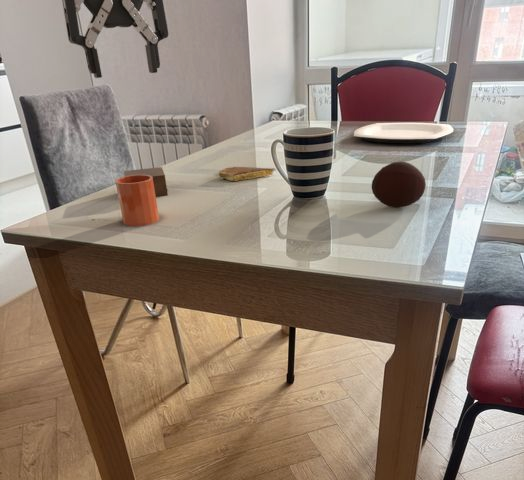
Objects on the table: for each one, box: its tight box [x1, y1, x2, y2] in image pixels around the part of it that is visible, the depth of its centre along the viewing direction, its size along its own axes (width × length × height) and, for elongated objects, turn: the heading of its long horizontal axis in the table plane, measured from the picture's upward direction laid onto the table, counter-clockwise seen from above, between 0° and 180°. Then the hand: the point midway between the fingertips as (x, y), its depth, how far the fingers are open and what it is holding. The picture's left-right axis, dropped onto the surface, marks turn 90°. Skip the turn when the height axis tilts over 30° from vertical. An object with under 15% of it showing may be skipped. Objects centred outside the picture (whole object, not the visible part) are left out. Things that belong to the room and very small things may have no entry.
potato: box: [371, 161, 427, 209], centre depth 87 cm, size 8×9×8 cm
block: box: [123, 166, 169, 197], centre depth 106 cm, size 8×8×4 cm
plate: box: [353, 122, 454, 144], centre depth 144 cm, size 27×27×2 cm
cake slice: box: [218, 166, 275, 182], centre depth 113 cm, size 11×8×2 cm
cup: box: [115, 175, 160, 227], centre depth 85 cm, size 6×6×8 cm
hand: (126, 75), depth 77 cm, fingers open, 8 cm apart
